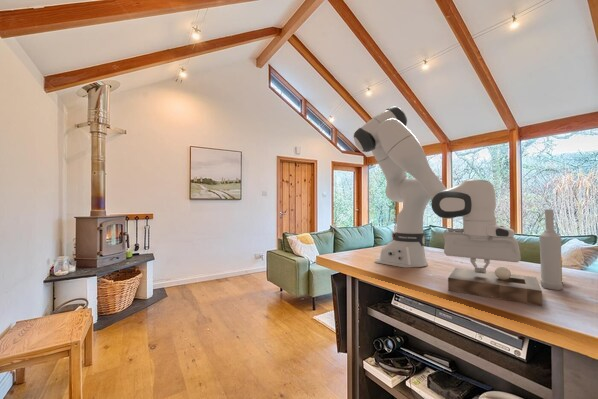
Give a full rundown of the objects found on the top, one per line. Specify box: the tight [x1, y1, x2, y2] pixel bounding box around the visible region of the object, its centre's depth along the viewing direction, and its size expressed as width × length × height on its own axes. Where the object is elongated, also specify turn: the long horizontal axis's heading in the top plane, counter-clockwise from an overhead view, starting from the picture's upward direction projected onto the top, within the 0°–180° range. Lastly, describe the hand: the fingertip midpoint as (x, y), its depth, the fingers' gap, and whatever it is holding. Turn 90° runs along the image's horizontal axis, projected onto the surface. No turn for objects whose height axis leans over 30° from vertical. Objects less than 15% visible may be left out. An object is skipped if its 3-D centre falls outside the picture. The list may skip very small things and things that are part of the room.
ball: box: [494, 265, 512, 280], centre depth 83 cm, size 4×4×4 cm
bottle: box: [538, 209, 563, 291], centre depth 86 cm, size 5×5×25 cm
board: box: [447, 267, 543, 307], centre depth 84 cm, size 22×16×4 cm
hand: (480, 272), depth 86 cm, fingers closed
